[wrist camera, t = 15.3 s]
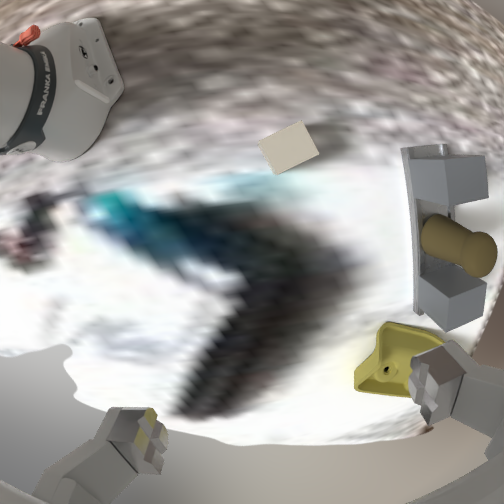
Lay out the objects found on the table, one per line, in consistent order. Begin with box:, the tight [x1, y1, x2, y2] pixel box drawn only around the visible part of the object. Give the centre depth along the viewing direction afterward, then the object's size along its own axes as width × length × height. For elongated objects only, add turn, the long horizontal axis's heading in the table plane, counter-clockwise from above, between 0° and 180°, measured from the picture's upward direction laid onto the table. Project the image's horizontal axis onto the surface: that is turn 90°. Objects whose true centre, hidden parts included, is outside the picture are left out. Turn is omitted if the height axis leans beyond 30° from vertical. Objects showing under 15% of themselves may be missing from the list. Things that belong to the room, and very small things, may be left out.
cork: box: [421, 214, 498, 278], centre depth 29 cm, size 6×6×11 cm
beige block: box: [258, 120, 319, 175], centre depth 31 cm, size 4×5×5 cm
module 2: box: [418, 265, 487, 332], centre depth 33 cm, size 5×7×8 cm
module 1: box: [408, 155, 489, 206], centre depth 29 cm, size 5×7×8 cm
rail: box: [400, 144, 455, 316], centre depth 35 cm, size 24×7×2 cm, turn 13°
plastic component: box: [354, 322, 446, 398], centre depth 40 cm, size 20×7×10 cm
